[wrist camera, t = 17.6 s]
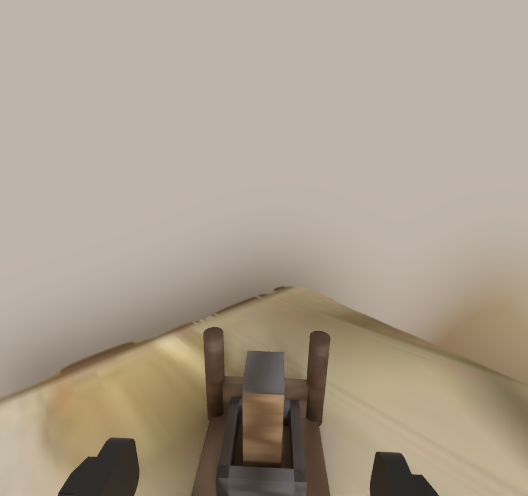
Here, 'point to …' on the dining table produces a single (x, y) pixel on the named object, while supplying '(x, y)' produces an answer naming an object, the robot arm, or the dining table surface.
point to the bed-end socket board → (293, 435)
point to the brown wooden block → (263, 409)
